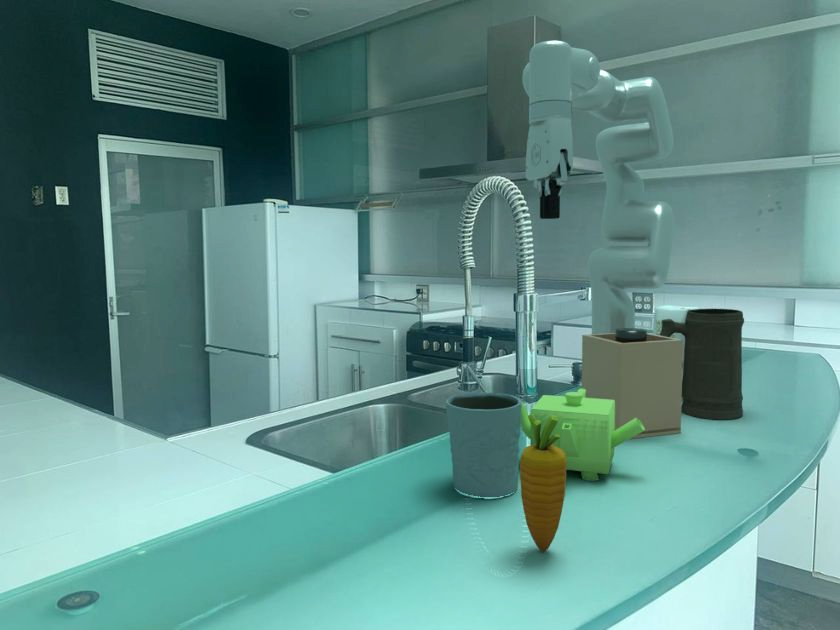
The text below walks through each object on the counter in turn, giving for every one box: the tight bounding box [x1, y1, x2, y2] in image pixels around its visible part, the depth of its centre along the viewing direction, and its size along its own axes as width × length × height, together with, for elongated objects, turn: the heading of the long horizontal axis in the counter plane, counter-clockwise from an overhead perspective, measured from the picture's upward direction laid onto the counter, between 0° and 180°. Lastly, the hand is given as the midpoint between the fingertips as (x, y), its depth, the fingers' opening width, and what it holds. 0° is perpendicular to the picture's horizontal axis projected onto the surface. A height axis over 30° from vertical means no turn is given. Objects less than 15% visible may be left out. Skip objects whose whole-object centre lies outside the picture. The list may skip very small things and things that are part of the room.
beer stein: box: [660, 308, 745, 421], centre depth 121 cm, size 15×11×20 cm
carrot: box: [519, 413, 567, 552], centre depth 67 cm, size 5×5×15 cm
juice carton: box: [652, 304, 701, 401], centre depth 135 cm, size 8×9×19 cm
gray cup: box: [445, 392, 523, 497], centre depth 86 cm, size 10×10×12 cm
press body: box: [581, 332, 683, 440], centre depth 114 cm, size 14×12×16 cm
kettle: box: [520, 388, 645, 481], centre depth 92 cm, size 15×14×11 cm
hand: (549, 218), depth 117 cm, fingers closed
